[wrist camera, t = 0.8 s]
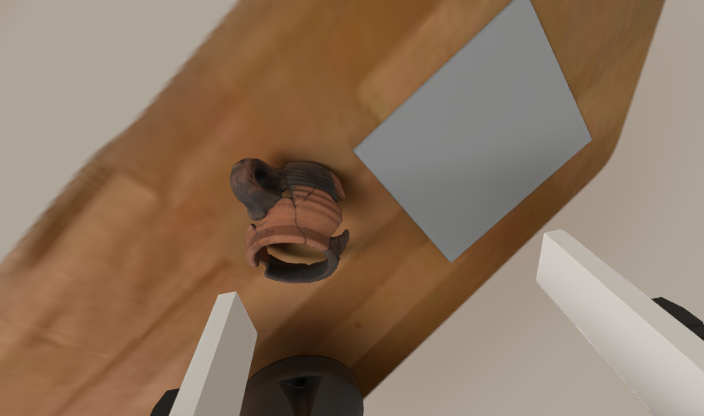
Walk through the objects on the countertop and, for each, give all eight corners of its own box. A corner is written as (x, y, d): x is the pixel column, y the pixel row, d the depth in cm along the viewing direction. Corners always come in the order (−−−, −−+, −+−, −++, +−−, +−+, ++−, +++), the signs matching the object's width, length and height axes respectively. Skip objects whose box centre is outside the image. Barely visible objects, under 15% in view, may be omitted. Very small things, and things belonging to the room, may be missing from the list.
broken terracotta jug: (367, 196, 30) (371, 268, 25) (297, 230, 34) (288, 299, 29) (279, 107, 23) (258, 182, 17) (204, 164, 27) (167, 239, 21)
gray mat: (448, 260, 34) (451, 262, 34) (352, 150, 28) (353, 151, 27) (586, 138, 33) (592, 139, 32) (520, -7, 26) (525, -10, 26)
